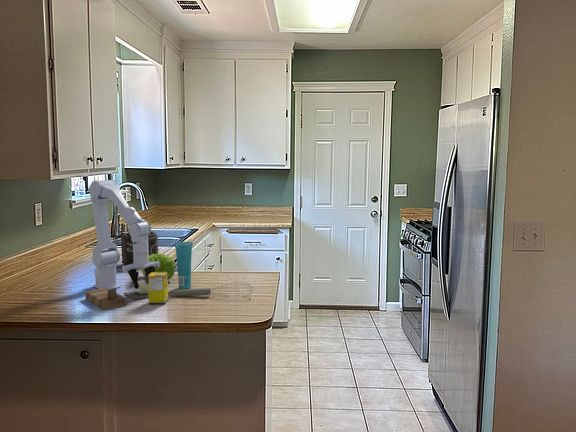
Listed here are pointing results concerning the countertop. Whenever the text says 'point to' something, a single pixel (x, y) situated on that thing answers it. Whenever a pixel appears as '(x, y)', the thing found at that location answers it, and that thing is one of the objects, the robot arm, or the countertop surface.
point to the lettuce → (162, 264)
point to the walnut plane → (105, 298)
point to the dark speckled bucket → (128, 247)
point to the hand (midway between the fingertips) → (142, 287)
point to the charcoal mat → (137, 295)
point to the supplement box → (158, 288)
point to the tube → (184, 263)
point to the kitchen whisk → (203, 291)
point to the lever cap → (142, 287)
